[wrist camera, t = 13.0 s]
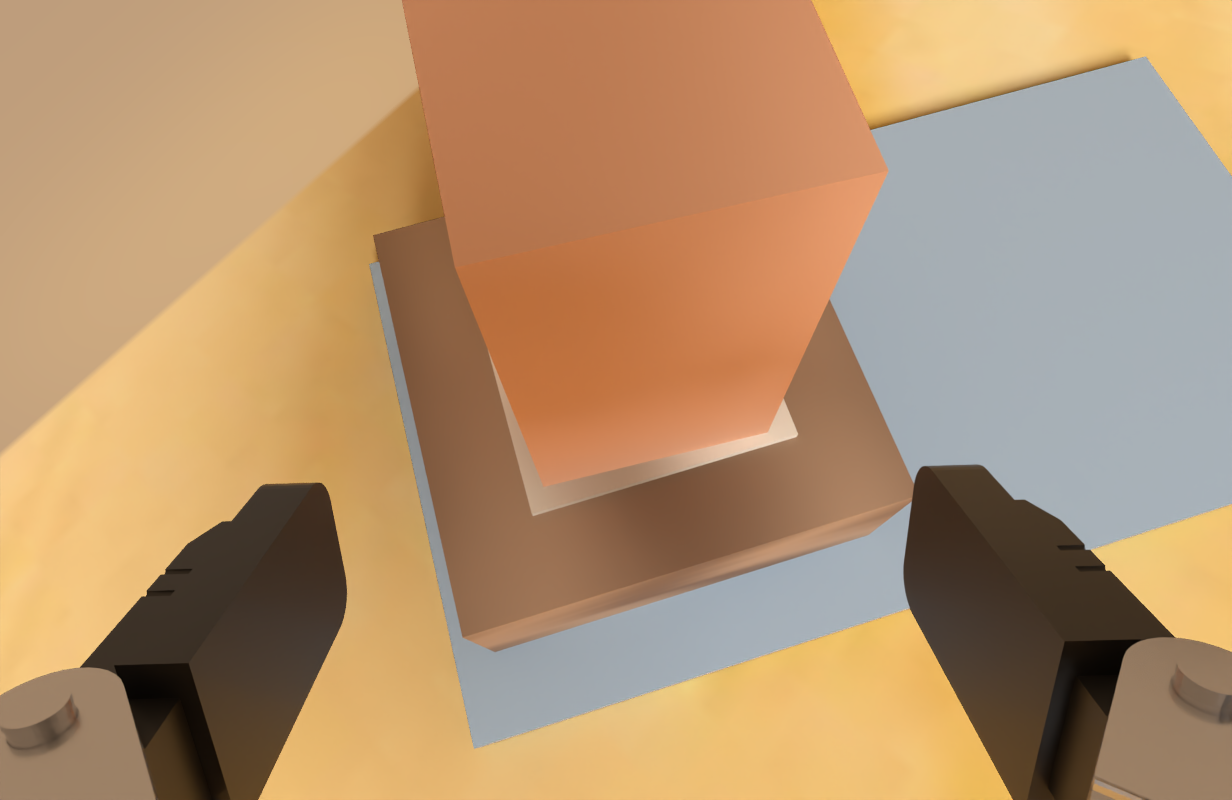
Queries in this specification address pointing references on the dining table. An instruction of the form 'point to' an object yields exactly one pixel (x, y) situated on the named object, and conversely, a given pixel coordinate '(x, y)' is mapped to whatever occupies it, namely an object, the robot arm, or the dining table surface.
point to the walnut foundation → (619, 475)
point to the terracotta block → (642, 209)
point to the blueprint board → (963, 373)
